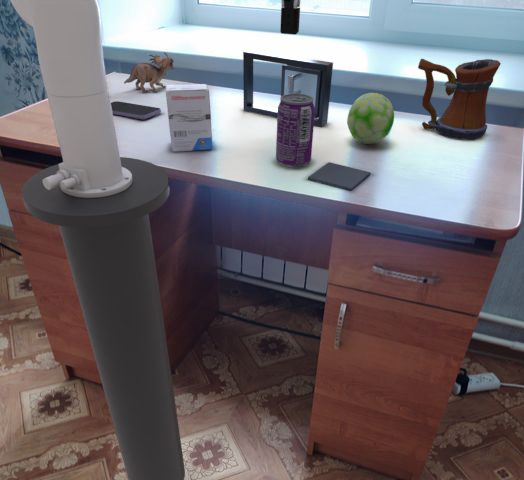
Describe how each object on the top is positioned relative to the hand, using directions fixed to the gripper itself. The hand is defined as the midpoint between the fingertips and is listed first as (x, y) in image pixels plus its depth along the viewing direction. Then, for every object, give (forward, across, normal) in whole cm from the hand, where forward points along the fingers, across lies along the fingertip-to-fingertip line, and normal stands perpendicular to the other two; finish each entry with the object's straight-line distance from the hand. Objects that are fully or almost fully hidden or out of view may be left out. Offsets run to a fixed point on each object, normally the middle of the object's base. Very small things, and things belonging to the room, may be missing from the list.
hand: (289, 33), depth 94 cm
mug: (+21, -21, +34) cm, 45 cm away
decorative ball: (+21, -8, +17) cm, 28 cm away
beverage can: (+21, +8, +4) cm, 23 cm away
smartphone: (+21, -12, -42) cm, 48 cm away
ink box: (+21, +6, -19) cm, 29 cm away
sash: (+19, -15, -1) cm, 25 cm away
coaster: (+21, +13, +14) cm, 28 cm away
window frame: (+21, -20, -4) cm, 29 cm away
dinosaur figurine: (+21, -31, -45) cm, 59 cm away
